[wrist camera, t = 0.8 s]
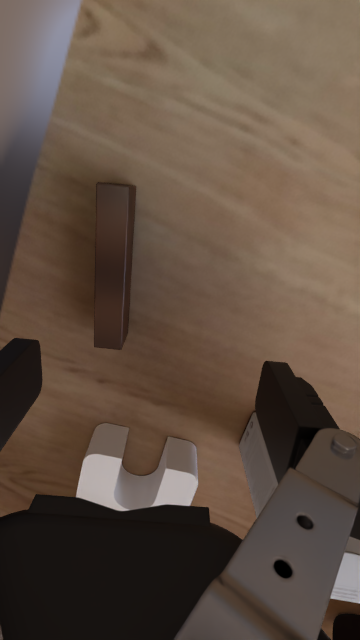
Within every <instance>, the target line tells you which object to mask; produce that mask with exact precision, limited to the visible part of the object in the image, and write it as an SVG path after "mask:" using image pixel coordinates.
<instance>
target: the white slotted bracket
mask: <svg viewBox="0 0 360 640" xmlns="http://www.w3.org/2000/svg"><path fill="white" fill-rule="evenodd" d="M128 432H129V428H128V427H123V426H119V425H114V424H109V423H103V424H100V425H98V426H97V427H96V428H95V430H94V433H93V436H92V438H91V441H90V444H89V447H88V450H87V452H86V455H85V458H84V461H83V464H82V469H81V474H80V479H79V484H78V488H77V493H76V497H78V498H82V499H85V500H88V501H91V502H94V503H97V504H100V505H103V506H106V507H109V508H112V509H115V510H118V511H128V510H134V509H140V508H147V507H153V506H159V505H166V504H169V505H182V506H190V504H191V502H192V499H193V497H194V494H195V492H196V489H197V486H198V471H197V450H196V446H195V445H194V444H193V443H192V442H190V441H187V440H182V439H178V438H173V437H169V436H168V438H167V441H166V444H165V447H164V450H163V454H162V457H161V460H160V463H159V466H158V468H157V469H156V470H155V471H154V472H153V473H151V474H149V475H146V476H137V475H133V474H131V473H129V472H127V471H126V470H125V469H124V467H123V466H122V463H121V462H122V459H123V454H124V450H125V445H126V441H127V436H128Z"/></svg>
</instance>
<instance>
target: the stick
mask: <svg viewBox="0 0 360 640" xmlns="http://www.w3.org/2000/svg"><path fill="white" fill-rule="evenodd" d="M135 198H136V186H132V185H124V184H115V183H103V182H98V183H97V184H96V245H95V312H94V347H98V348H108V349H117V350H121V349H122V347H123V344H124V342H125V339H126V337H127V334H128V323H129V305H130V287H131V269H132V251H133V233H134V216H135Z"/></svg>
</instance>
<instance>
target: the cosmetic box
mask: <svg viewBox="0 0 360 640" xmlns="http://www.w3.org/2000/svg"><path fill="white" fill-rule="evenodd" d="M239 449H240V453H241V457H242V461H243V465H244V469H245V473H246V477H247V481H248V485H249V489H250V493H251V497H252V501H253V505H254V509H255V513H256V517H258V516H259V514H260V513H261V511H262V509H263V508H264V506H265V505H266V503H267V502H268V500H269V498H270V497H271V495H272V494H273V492H274V491H275V489H276V487H277V486H278V482H277V479H276V476H275V473H274V470H273V466H272V463H271V460H270V457H269V454H268V451H267V448H266V444H265V441H264V438H263V435H262V432H261V429H260V426H259V422H258V419H257V416H256V413H253V414H252V416H251V419H250V421H249V423H248V425H247V427H246V430H245V432H244V434H243V437H242V439H241V441H240V444H239ZM330 598H331V599H337V600H342V601H348V602H354V603H359V604H360V540H358V539H355V538H352V537H350V536H349V540H348V543H347V546H346V549H345V552H344V556H343V559H342V562H341V565H340V568H339V571H338V575H337V578H336V581H335V584H334V587H333V591H332V594H331V597H330Z"/></svg>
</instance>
